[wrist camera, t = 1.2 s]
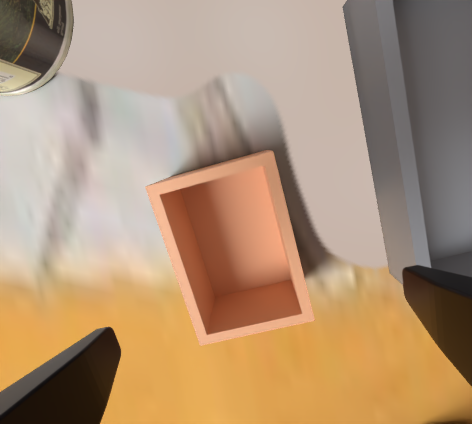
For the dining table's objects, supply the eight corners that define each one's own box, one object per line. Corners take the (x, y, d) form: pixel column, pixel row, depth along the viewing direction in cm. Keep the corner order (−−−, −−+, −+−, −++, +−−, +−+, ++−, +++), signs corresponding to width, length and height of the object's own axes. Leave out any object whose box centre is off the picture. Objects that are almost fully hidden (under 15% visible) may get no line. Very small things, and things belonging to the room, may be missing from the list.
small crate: (299, 281, 22) (314, 320, 17) (210, 301, 22) (200, 345, 17) (266, 149, 20) (273, 150, 15) (169, 177, 20) (145, 186, 15)
